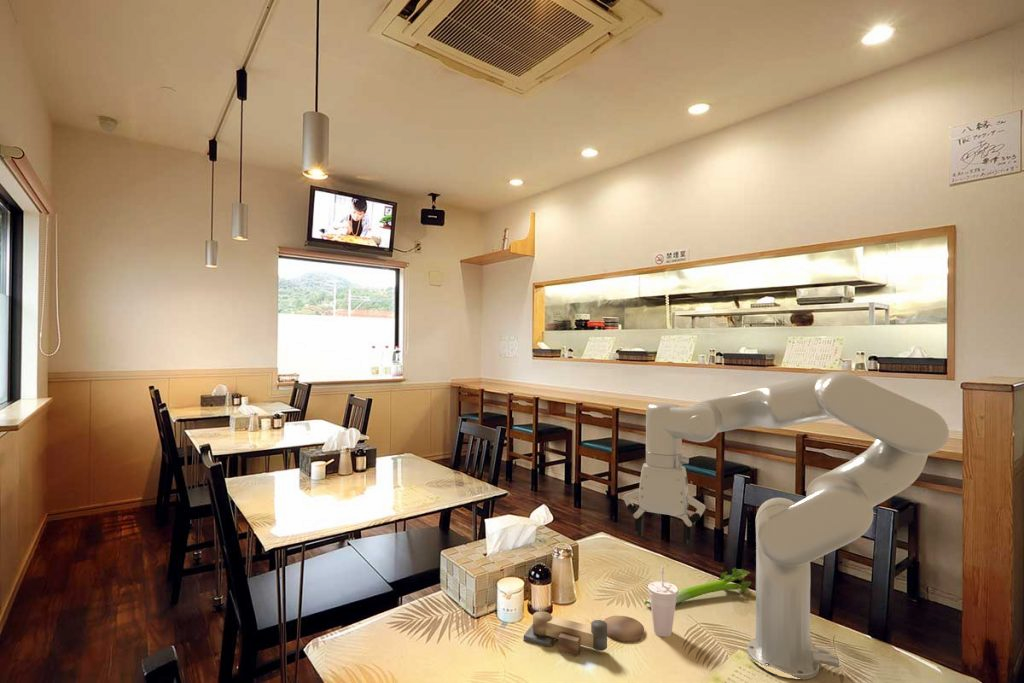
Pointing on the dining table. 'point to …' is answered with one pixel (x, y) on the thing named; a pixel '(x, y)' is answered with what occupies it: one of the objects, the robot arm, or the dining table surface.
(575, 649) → the block
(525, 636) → the pivot plate
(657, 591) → the smoothie
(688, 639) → the dining table surface
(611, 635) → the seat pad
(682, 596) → the leek
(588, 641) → the leg
